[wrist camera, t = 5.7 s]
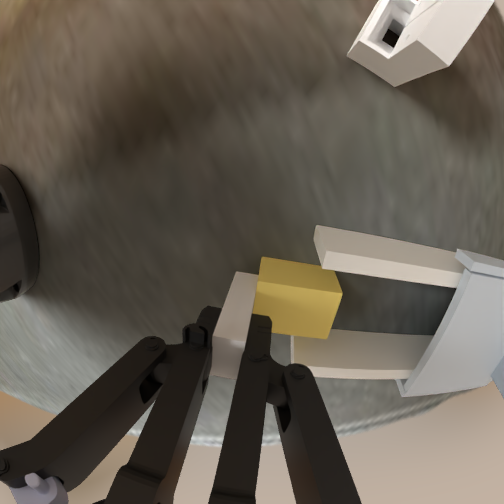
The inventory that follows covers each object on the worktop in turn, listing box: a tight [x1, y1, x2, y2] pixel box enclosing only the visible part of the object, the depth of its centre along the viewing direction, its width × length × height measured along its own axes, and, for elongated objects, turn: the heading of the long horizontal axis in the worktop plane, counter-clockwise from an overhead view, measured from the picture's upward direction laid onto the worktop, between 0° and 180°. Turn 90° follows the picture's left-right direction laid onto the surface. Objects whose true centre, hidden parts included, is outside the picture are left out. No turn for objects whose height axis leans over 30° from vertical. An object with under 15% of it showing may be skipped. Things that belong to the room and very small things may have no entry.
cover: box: [395, 249, 504, 398], centre depth 13 cm, size 11×11×6 cm
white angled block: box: [347, 0, 495, 87], centre depth 8 cm, size 4×10×9 cm
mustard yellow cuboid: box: [253, 257, 343, 339], centre depth 18 cm, size 5×4×4 cm
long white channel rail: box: [291, 225, 468, 379], centre depth 17 cm, size 20×9×4 cm, turn 83°
